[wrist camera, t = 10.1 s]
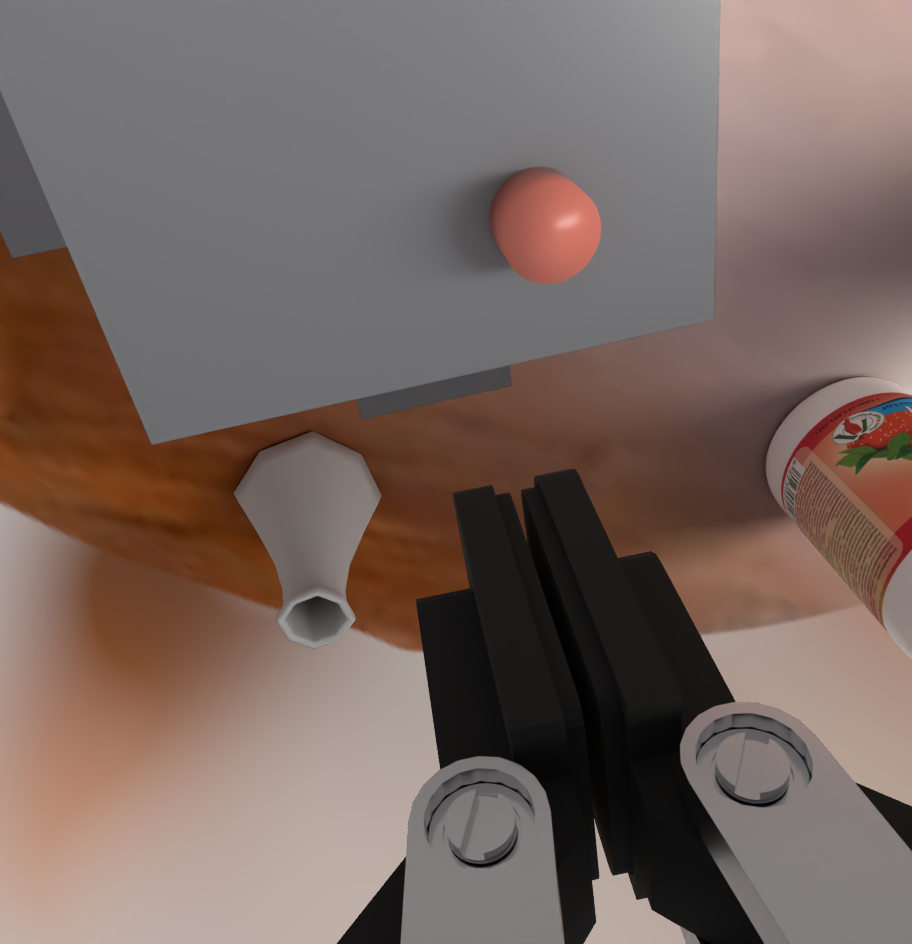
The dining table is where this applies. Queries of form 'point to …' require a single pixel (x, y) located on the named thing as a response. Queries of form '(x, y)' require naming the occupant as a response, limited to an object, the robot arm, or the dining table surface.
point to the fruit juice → (854, 490)
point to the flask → (310, 529)
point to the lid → (360, 186)
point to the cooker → (434, 392)
